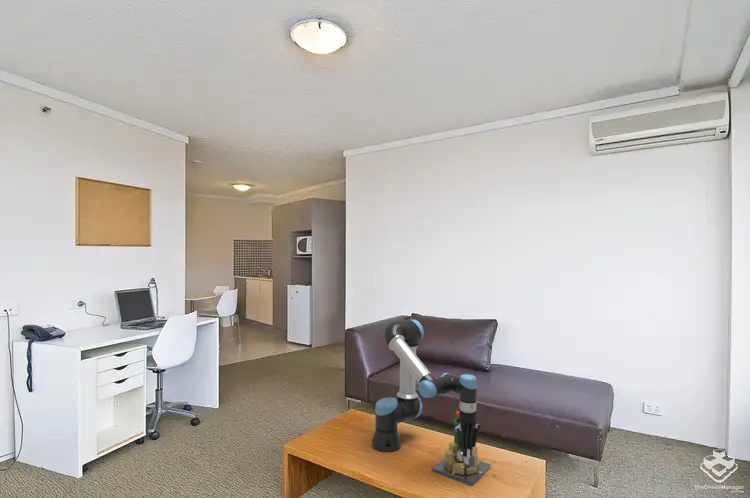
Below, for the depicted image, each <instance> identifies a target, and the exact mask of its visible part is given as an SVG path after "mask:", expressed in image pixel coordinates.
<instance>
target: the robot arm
mask: <svg viewBox="0 0 750 498" xmlns="http://www.w3.org/2000/svg"><path fill="white" fill-rule="evenodd" d="M424 334H425V332H424V328H423V325H422V324H421V323H420V321H418V320H417V319H405V320H394V321H392V322H389V323H388V324H387V325H386V326H385V328H384V330H383V340H384V342H385V344H386V346H387V348H388V349H389V350H390V351H393V352H394V354H395V355H396V356H397V357H398V358H399V391H398V392H397V393H396V397H384V398H380V399H378V401H376V403H375V407H374V408H375V409H374V412H375V417H374V418H375V420H374V421H375V423H374V425H375V427H374V429H375V431H374V433H373V438H372V441H371V446H372V449H374V450H376V451H379V452H384V453H385V452H386V453H387V452H389V453H390V452H395V451H398V450H399V449H400V448H401V447H402V440H401V439H400V438H401V437H400V434H399V430H398V428H399V427H398V424H399V423H405V422H407V421H412V420H415V419H417V418H419V417H420V415H421V414H422V411H423V402H422V400H421V398H420V397H419V395H420V396H421V397H422V398H425V399H428V398H434V397H437V396H440V395H445V394H449V393H455V394H456V395H457V394H458V395H459V406H458V407H459V410H458V411H459V417H458V418H460V422H459V425H458V426H457V427H456V426H455V427H454V426H453V428H454V429H455V431H456V434H457V439H458V444H459V447H460V448H462V449H463V456H464V463H466V464H467V465H469V458H470V456H471V450H473V448H472V447H476V446H477V441H478V436H479V431H480V429H481V427H482V426H481V424H479V423H477V396H478V395H477V394H478V391H477V390H478V382H477V381H478V380H477V377H476V376H475V375H473V374H467V373H466V374H461V375H460V376H458V375H455V374H453V373H449V372H444V373H442V375H440V376H439V377H435V376H434V374H432V373H431V371H430V370H429V369H428V368H427V366H426V365H425V364H424V363H423V362H422V361H421V359H420V358H419V357H418V356H417V348H418V347H419V346H420V341H422V340H423V338H424V336H425V335H424ZM416 382H417V383H418V391H419V394H418V392H416ZM454 429H453V430H454ZM461 429H462V434H461Z"/></svg>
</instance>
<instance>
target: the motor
mask: <svg viewBox="0 0 750 498" xmlns="http://www.w3.org/2000/svg"><path fill="white" fill-rule="evenodd" d="M459 422H460V418H459V410H457V411H456V412H455V419H454V421H453V423H454V426H453V428H454V427H455V426H456V427H457V426H458V425H459ZM461 434H462V429H461ZM453 437H454V438H453V442H455V443H456V444H457V445H458V450H463V449H462V448H460V447H459V444H458V439H457V434H456V431H455V429H453Z"/></svg>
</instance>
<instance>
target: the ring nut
mask: <svg viewBox="0 0 750 498" xmlns="http://www.w3.org/2000/svg"><path fill="white" fill-rule="evenodd" d="M472 448H473V450H471V456H470V458H469V465H467V464H466V463H464V464H463V463H457V450H458V445H457V444H456V443H455V442H454V441H453V442H448V451H444V456H443V458H442V460H443V465H444V467H445V468H446V469H448V470H449V471H450V472H451V471H453V473H456V474H461V475H464V474H467V475H469V474H473V473H477V471H478V470H479V467H480V461H481V460H480V458H479V457H478V447H476V446H475V447H472Z"/></svg>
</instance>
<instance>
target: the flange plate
mask: <svg viewBox="0 0 750 498" xmlns="http://www.w3.org/2000/svg"><path fill="white" fill-rule="evenodd" d="M457 463H463V464H464V456H463V450H457ZM491 467H492V466H491V464H490V463H488V462H485V461H481V460H480V467H479V470H478V471H477V473H473V474H469V475H467V474H464V475H461V474H456V473H453V471H451V472H450V471H449V470H448V469H446V468H445V467H444V465H443V459H441V460H440V461H438V463H437V464H435V465H434V466H433V467H431V472H432V473H436V474H438V475H442V476H443V477H447V478H449V479H451V480H455V481H456V482H460V483H462V484H466V485H468V486H470V487H473V486H474V485H475V484H476V483H477V482H478V481H479V480H480V479H481V478H482V477H483V476H484V475H485V474H487V472H488V471H489V469H491Z"/></svg>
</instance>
